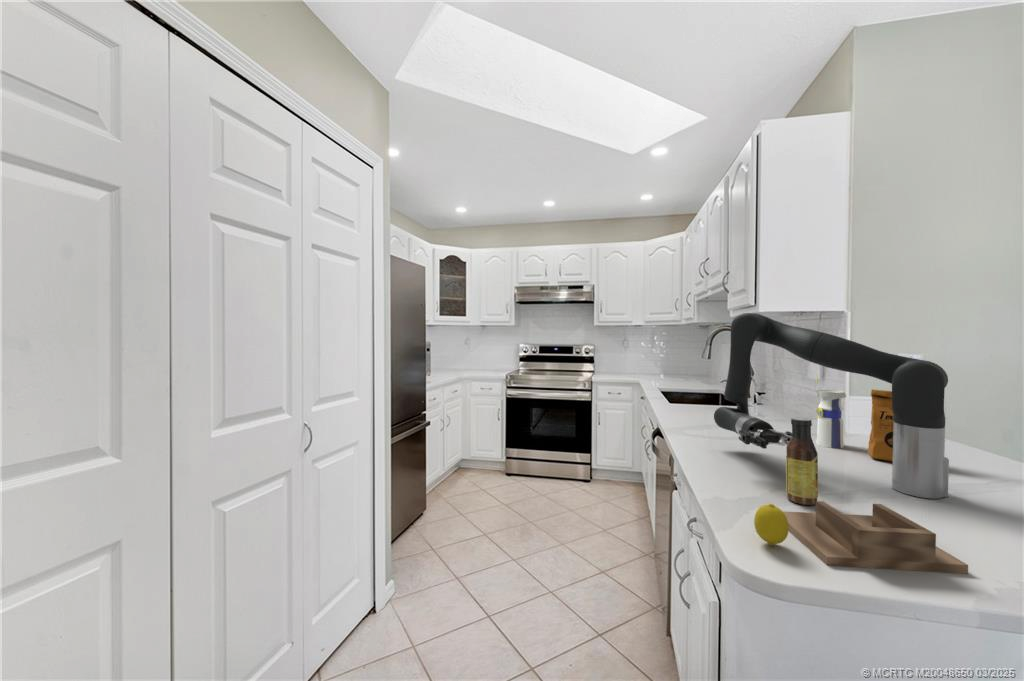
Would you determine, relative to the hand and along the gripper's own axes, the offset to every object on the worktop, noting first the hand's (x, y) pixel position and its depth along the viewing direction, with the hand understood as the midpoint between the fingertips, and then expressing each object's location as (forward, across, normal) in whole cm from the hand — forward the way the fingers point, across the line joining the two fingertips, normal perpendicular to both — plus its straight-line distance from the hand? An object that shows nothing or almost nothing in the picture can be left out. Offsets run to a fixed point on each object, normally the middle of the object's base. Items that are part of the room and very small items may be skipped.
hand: (782, 445), depth 106 cm
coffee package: (-27, +46, +11) cm, 54 cm away
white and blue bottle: (-43, +37, +11) cm, 57 cm away
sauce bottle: (+8, 0, +11) cm, 14 cm away
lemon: (+31, -17, +11) cm, 37 cm away
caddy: (+28, 0, +11) cm, 30 cm away
